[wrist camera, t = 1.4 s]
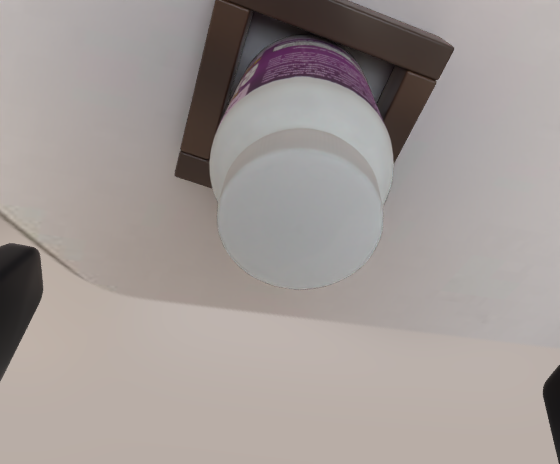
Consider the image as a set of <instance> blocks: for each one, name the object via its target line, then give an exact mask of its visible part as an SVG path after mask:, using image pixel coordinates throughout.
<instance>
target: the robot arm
mask: <svg viewBox="0 0 560 464" xmlns="http://www.w3.org/2000/svg"><path fill="white" fill-rule="evenodd" d="M42 293H43V280H42V269H41V260H40V253H39V251H38V250H37V249H36V248H34V247H30V246H25V245H20V244H14V243H9V244H6V245H3V246H1V247H0V381H1V379H2V377H3V375H4V373H5V371H6V369H7V367H8V365H9V363H10V361H11V359H12V357H13V355H14V353H15V351H16V349H17V347H18V345H19V343H20V341H21V339H22V337H23V335H24V333H25V331H26V329H27V327H28V325H29V323H30V321H31V319H32V317H33V315H34V313H35V311H36V309H37V307H38V305H39V303H40V300H41V297H42ZM543 398H544V402H545V406H546V410H547V414H548V419H549V423H550V427H551V432H552V436H553V440H554V445H555V449H556V453H557V457H558V462H559V464H560V365H559V366H558V367H557V368H556V370H555V371H554V372H553V373H552V374H551V376H550V377H549V378H548V379H547V381H546V382H545V384H544V387H543Z"/></svg>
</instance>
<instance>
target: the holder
mask: <svg viewBox="0 0 560 464" xmlns="http://www.w3.org/2000/svg"><path fill="white" fill-rule="evenodd" d="M253 11H256V12H258V13H261V14H264V15H266V16H269V17H271V18H274V19H277V20H279V21H282V22H284V23H287V24H290V25H292V26H295V27H298V28H300V29H303V30H305V31H308V32H311V33H313V34H316V35H318V36H321V37H324V38H326V39H329V40H332V41H334V42H337V43H339V44H342V45H345V46H347V47H350V48H352V49H355V50H358V51H360V52H363V53H366V54H368V55H371V56H373V57H376V58H379V59H381V60H384V61H386V62H389V63H392V64H394V65H395V66H394V69H393V71H392V73H391V75H390V77H389V79H388V81H387V84H386V86H385V88H384V90H383V92H382V94H381V96H380V99H379V101H378V103H377V107H378V109H379V112H380V115H381V117H382V119H383V122H384V124H385V126H386V128H387V131H388V134H389V137H390V140H391V144H392V151H393V161H394V163H395V161H396V159H397V157H398V155H399V153H400V151H401V149H402V148H403V146H404V144H405V142H406V140H407V138H408V136H409V134H410V132H411V130H412V129H413V127H414V125H415V123H416V121H417V119H418V117H419V115H420V113H421V111H422V110H423V108H424V106H425V104H426V102H427V100H428V98H429V96H430V94H431V92H432V91H433V89H434V87H435V85H436V81H435V80H438V79H439V77H440V75H441V74H442V72H443V70H444V68H445V66H446V64H447V62H448V60H449V58H450V56H451V55H452V53H453V51H454V47H453V46H452V45H450V44H449V43H447V42H446V41H445V40H443V39H442V38H440V37H438V36H436V35H433V34H431V33H428V32H426V31H423V30H421V29H418V28H416V27H413V26H411V25H408V24H406V23H403V22H401V21H398V20H396V19H393V18H391V17H388V16H386V15H383V14H380V13H378V12H375V11H373V10H370V9H368V8H365V7H363V6H360V5H358V4H355V3H353V2H350V1H348V0H215V4H214V8H213V12H212V17H211V21H210V25H209V29H208V34H207V38H206V42H205V46H204V51H203V55H202V59H201V63H200V68H199V72H198V76H197V80H196V85H195V89H194V93H193V97H192V102H191V106H190V110H189V114H188V119H187V123H186V127H185V131H184V136H183V140H182V144H181V148H180V149H181V151H180V153H179V157H178V161H177V165H176V170H175V176H176V177H179V178H182V179H185V180H188V181H191V182H194V183H197V184H200V185H203V186H207V187H210V188H212V184H211V179H210V163H209V162H210V153H211V148H212V144H213V140H214V137H215V134H216V132H217V129H218V127H219V125H220V122H221V120H222V118H223V116H224V114H225V111H226V108H227V104H228V100H229V97H230V93H231V90H232V86H233V83H234V79H235V76H236V72H237V68H238V65H239V61H240V58H241V54H242V51H243V47H244V43H245V40H246V36H247V33H248V29H249V26H250V22H251V19H252V15H253Z"/></svg>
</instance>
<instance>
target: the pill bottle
mask: <svg viewBox="0 0 560 464" xmlns="http://www.w3.org/2000/svg"><path fill="white" fill-rule="evenodd" d="M209 163H210V179H211V184H212V188H213V192H214V195H215V197H216V199H217V202H218V209H217V226H218V231H219V236H220V238H221V241H222V243H223V246H224V248H225V249H226V251H227V253H228V254H229V255H230V257H231V258H232V260H233V261H234V262H235V263H236V264H237V265H238V266H239V267H240V268H241V269H243V270H244V271H245V272H247V273H248V274H249V275H251V276H252V277H254V278H256V279H258V280H260V281H262V282H265V283H267V284H270V285H273V286H277V287H282V288H288V289H294V290H304V289H315V288H320V287H325V286H328V285H331V284H334V283H336V282H339V281H341V280H343V279H345V278H347V277H348V276H350V275H352V274H353V273H354V272H356V271H357V270H358V269H360V268H361V267H362V266H363V265H364V264H365V263H366V262H367V260H368V259H369V258H370V257H371V255H372V254H373V252H374V250H375V249H376V247H377V245H378V242H379V240H380V238H381V234H382V230H383V205H384V203H385V201H386V199H387V196H388V194H389V191H390V187H391V183H392V178H393V166H394V161H393V151H392V144H391V140H390V137H389V134H388V131H387V128H386V126H385V124H384V122H383V119H382V117H381V115H380V112H379V109H378V107H377V105H376V102H375V100H374V98H373V95H372V93H371V90H370V88H369V85H368V83H367V80H366V78H365V76H364V74H363V71H362V69H361V67H360V66H359V64H358V63H357V62H356V60H355V59H354V58H353V57H352V55H351V54H350V53H348V52H347V51H346V50H345V49H344V48H343V47H341V46H340V45H338V44H336V43H335V42H333V41H331V40H329V39H326V38H323V37H320V36H312V35H296V36H289V37H285V38H283V39H280V40H278V41H276V42H274V43H272V44H270V45H269V46H267V47H266V48H264V49H263V50H262V51H261V52H260V53H259V54H258V55H257V56H256V57H255V58H254V59H253V60H252V62H251V63H250V64H249V66H248V67H247V69H246V71H245V73H244V75H243V76H242V78H241V80H240V83H239V85H238V87H237V89H236V91H235V93H234V95H233V97H232V99H231V101H230V103H229V106H228V108H227V110H226V112H225V114H224V116H223V118H222V120H221V122H220V125H219V127H218V129H217V132H216V134H215V137H214V140H213V144H212V148H211V153H210V162H209Z"/></svg>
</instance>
